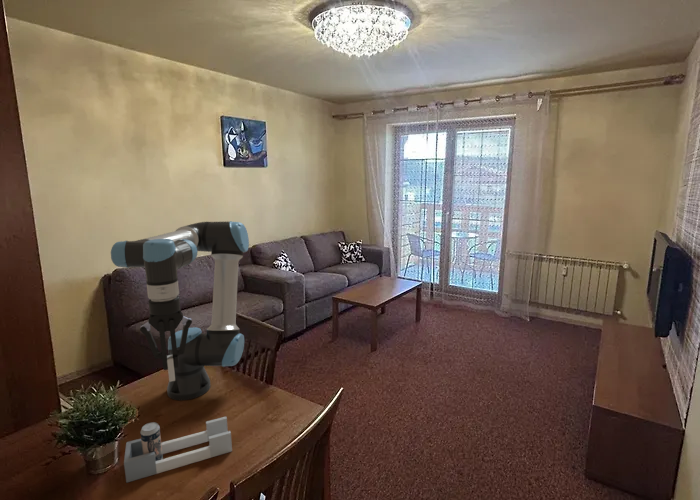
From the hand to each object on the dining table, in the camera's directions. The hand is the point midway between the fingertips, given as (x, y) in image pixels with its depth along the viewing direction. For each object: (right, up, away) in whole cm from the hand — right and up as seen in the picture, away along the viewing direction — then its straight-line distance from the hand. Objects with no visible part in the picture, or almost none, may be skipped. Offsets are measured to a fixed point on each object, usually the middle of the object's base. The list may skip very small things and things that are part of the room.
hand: (172, 378), depth 108 cm
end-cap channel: (+1, -24, +5) cm, 24 cm away
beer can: (-6, -25, +1) cm, 26 cm away
